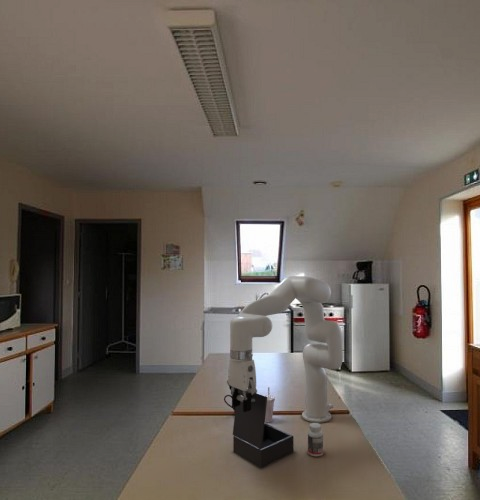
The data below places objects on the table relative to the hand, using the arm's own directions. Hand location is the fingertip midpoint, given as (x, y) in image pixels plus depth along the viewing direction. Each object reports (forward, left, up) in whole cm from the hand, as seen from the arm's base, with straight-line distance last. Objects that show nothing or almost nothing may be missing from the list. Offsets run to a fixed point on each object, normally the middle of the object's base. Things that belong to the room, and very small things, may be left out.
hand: (241, 407), depth 129 cm
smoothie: (-30, -19, -18) cm, 40 cm away
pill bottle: (-23, +13, -18) cm, 32 cm away
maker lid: (-4, 0, -4) cm, 6 cm away
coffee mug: (-25, -32, -18) cm, 45 cm away
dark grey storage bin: (-10, 0, -18) cm, 21 cm away
